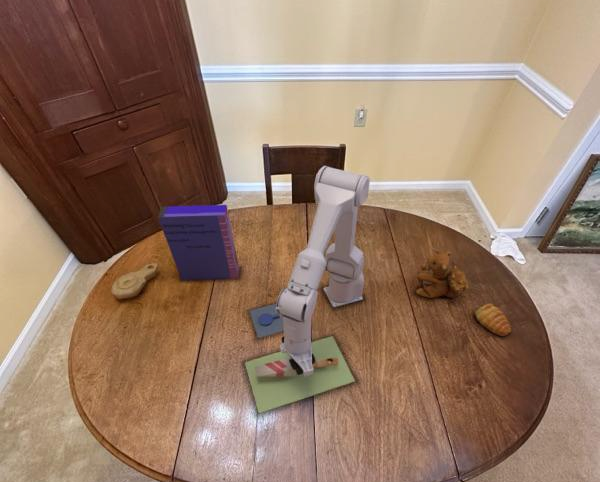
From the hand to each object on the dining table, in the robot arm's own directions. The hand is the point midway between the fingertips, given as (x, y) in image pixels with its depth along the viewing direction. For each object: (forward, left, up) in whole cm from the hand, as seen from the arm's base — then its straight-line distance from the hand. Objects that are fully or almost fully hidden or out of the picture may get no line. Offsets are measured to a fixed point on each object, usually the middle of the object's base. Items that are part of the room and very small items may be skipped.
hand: (298, 364), depth 84 cm
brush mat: (0, 0, -3) cm, 3 cm away
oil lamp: (+37, -44, -4) cm, 58 cm away
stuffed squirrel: (-48, -12, -4) cm, 50 cm away
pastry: (-55, +3, -4) cm, 55 cm away
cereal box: (+15, -42, -4) cm, 45 cm away
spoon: (-1, -18, -3) cm, 18 cm away
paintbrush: (0, 0, -2) cm, 2 cm away
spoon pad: (0, -18, -3) cm, 18 cm away
